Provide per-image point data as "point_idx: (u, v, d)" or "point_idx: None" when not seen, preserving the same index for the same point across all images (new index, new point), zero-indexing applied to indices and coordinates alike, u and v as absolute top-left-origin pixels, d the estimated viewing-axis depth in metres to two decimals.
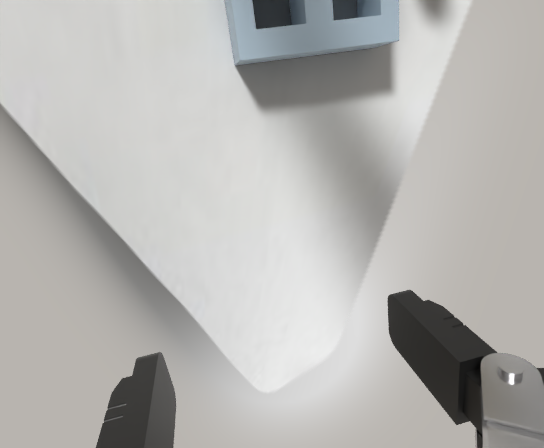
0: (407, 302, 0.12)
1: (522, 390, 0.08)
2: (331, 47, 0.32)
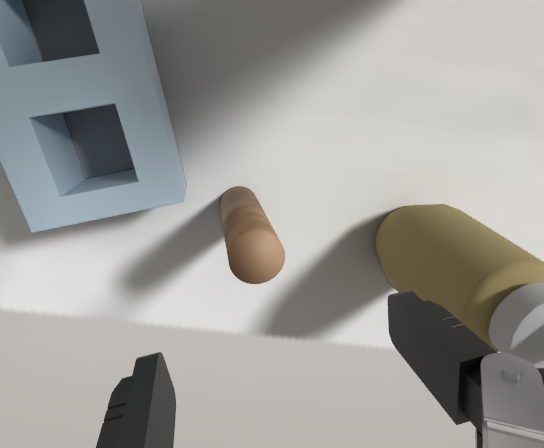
0: (407, 302, 0.12)
1: (522, 390, 0.08)
2: None
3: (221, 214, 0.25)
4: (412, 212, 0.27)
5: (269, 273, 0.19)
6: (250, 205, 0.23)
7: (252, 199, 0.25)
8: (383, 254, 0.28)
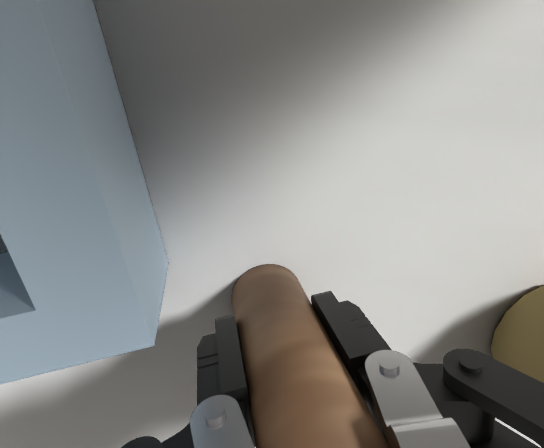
0: (323, 302, 0.12)
1: (393, 384, 0.09)
2: None
3: None
4: None
5: None
6: (309, 343, 0.10)
7: (304, 309, 0.12)
8: None
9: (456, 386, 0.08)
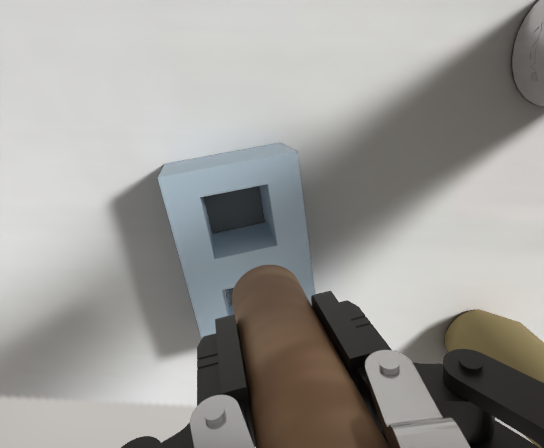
0: (323, 302, 0.12)
1: (393, 383, 0.09)
2: (190, 293, 0.25)
3: (239, 337, 0.12)
4: (483, 326, 0.34)
5: None
6: (310, 343, 0.10)
7: (304, 309, 0.12)
8: None
9: (456, 386, 0.08)
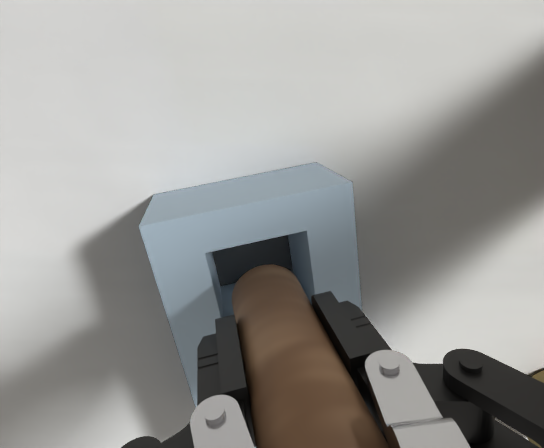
0: (323, 302, 0.12)
1: (393, 383, 0.09)
2: (191, 385, 0.17)
3: (239, 336, 0.12)
4: None
5: None
6: (310, 343, 0.10)
7: (304, 309, 0.12)
8: None
9: (456, 386, 0.08)
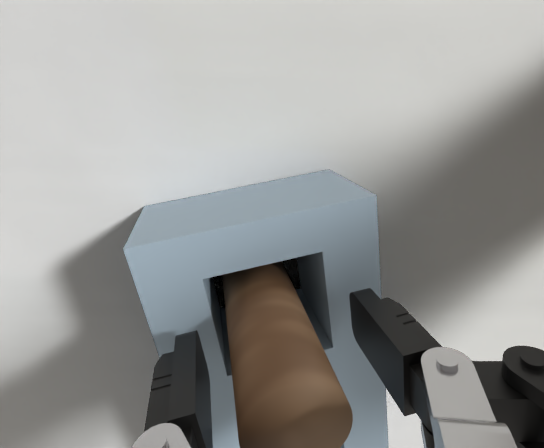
0: (365, 299, 0.12)
1: (454, 381, 0.08)
2: None
3: (223, 288, 0.15)
4: None
5: None
6: (274, 285, 0.13)
7: (274, 265, 0.15)
8: None
9: (513, 380, 0.08)
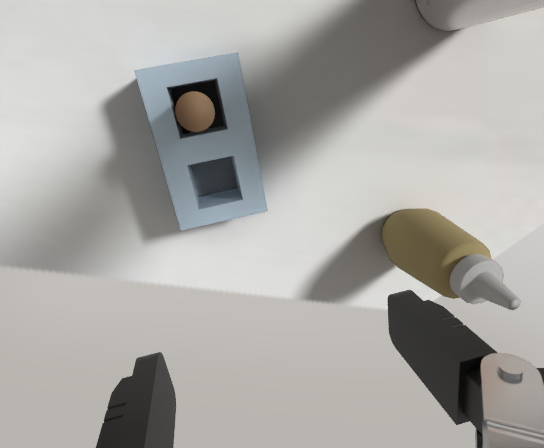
0: (407, 302, 0.12)
1: (522, 390, 0.08)
2: (163, 166, 0.33)
3: None
4: (406, 214, 0.42)
5: (205, 124, 0.28)
6: None
7: None
8: (387, 242, 0.42)
9: None
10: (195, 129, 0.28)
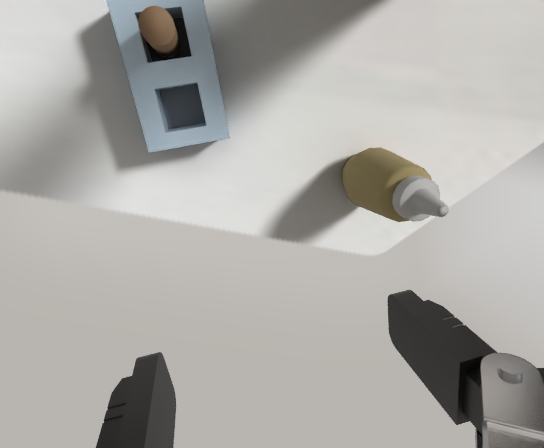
0: (407, 302, 0.12)
1: (522, 390, 0.08)
2: (132, 88, 0.36)
3: None
4: (361, 152, 0.45)
5: (165, 38, 0.31)
6: None
7: None
8: (344, 178, 0.46)
9: None
10: (157, 42, 0.31)
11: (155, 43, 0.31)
